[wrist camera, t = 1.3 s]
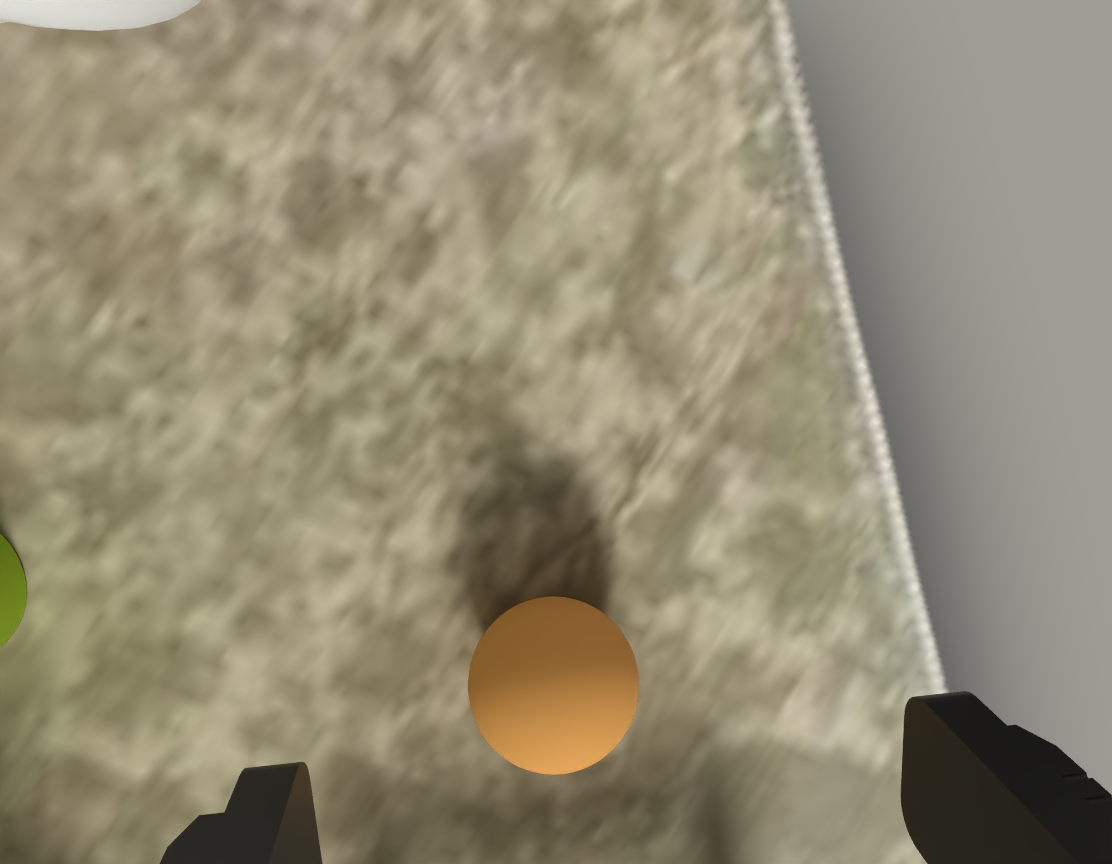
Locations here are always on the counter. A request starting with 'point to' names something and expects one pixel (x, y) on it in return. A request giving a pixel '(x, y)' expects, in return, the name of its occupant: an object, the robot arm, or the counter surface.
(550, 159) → the counter surface
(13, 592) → the soap dispenser
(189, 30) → the counter surface
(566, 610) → the ball
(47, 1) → the white knot
